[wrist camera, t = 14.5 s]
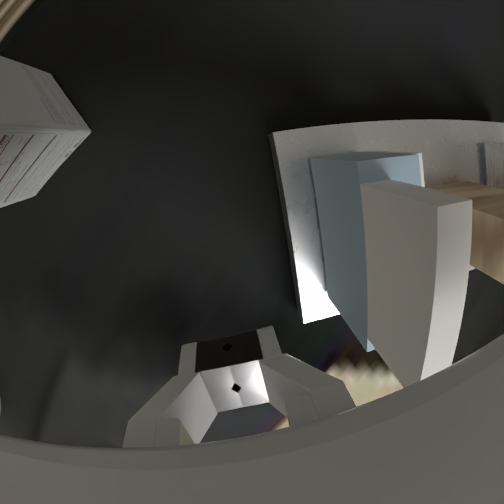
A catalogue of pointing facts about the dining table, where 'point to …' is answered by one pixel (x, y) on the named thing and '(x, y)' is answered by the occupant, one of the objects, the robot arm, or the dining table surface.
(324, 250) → the block
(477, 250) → the beech block
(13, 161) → the supplement box
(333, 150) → the vise bed
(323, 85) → the dining table surface
